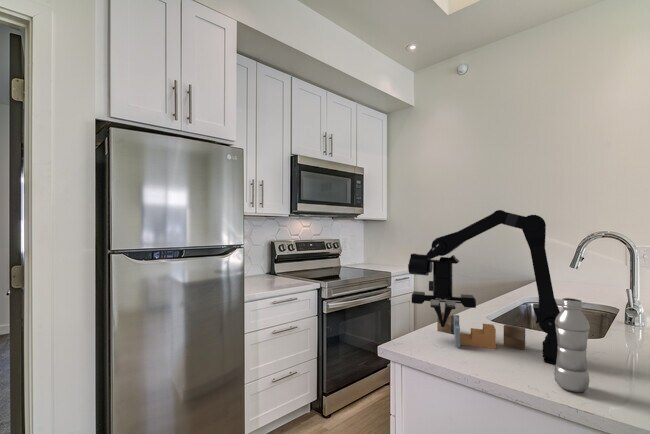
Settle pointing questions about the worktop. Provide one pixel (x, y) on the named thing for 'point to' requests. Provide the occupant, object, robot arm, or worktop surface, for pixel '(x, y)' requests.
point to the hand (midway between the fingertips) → (442, 326)
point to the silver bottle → (572, 347)
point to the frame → (512, 334)
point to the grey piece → (456, 330)
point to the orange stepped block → (480, 337)
